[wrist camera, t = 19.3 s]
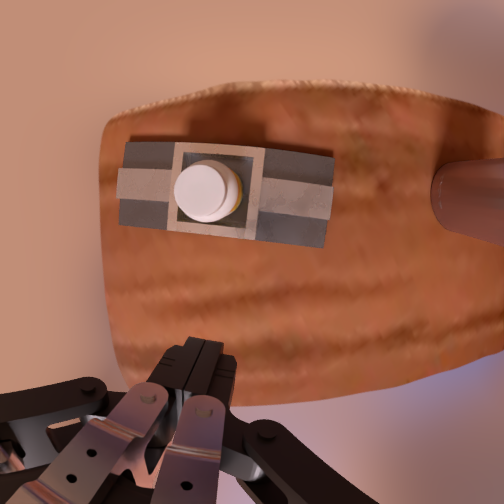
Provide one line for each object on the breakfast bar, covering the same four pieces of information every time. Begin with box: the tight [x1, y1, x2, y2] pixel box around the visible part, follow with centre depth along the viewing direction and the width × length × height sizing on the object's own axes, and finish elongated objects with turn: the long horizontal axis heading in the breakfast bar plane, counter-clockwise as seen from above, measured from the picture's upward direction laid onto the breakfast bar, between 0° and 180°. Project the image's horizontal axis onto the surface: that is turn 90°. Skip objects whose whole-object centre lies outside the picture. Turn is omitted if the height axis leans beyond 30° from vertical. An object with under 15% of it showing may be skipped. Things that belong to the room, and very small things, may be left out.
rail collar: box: [116, 142, 335, 248], centre depth 29 cm, size 24×10×4 cm, turn 84°
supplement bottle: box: [174, 160, 243, 222], centre depth 25 cm, size 5×5×10 cm
